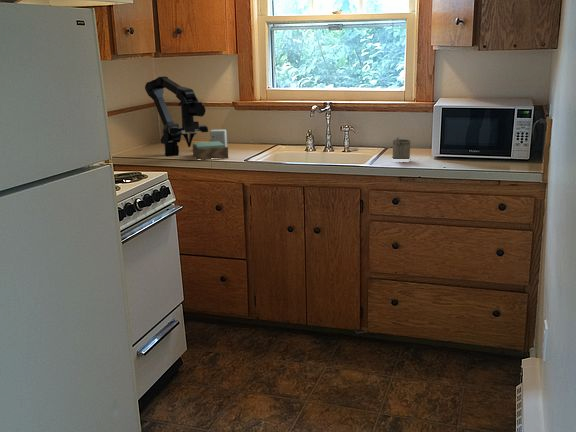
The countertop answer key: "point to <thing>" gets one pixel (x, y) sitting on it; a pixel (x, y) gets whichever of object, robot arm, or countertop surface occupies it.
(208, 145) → the cover plate
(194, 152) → the walnut box
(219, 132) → the small box
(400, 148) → the jerry can
